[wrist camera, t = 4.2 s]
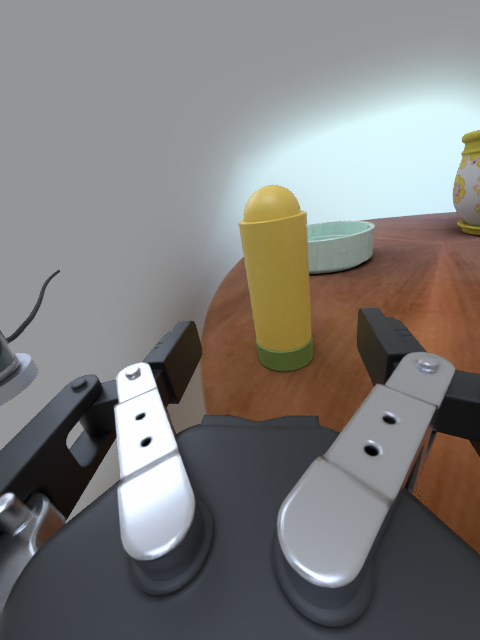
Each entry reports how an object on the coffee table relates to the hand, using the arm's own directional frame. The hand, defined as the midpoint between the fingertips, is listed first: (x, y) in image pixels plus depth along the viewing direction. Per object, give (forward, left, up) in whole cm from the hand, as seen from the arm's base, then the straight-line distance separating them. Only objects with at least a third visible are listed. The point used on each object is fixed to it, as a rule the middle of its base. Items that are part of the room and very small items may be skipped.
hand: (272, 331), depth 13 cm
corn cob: (-6, +6, -8) cm, 11 cm away
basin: (-23, +31, -8) cm, 39 cm away
